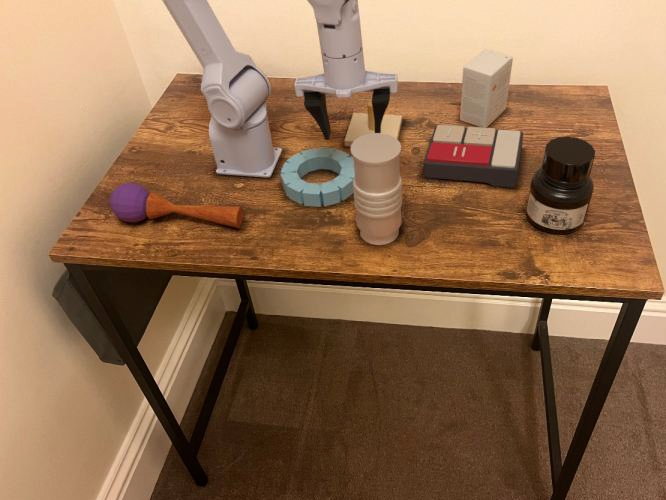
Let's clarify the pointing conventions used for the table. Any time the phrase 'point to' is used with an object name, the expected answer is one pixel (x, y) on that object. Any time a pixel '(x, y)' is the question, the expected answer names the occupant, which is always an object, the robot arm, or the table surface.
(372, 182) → the ribbed beige cylinder
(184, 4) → the robot arm
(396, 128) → the peg stand
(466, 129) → the button keypad
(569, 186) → the ink bottle
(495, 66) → the small box
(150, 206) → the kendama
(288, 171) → the ring
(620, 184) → the table surface
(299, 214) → the table surface
